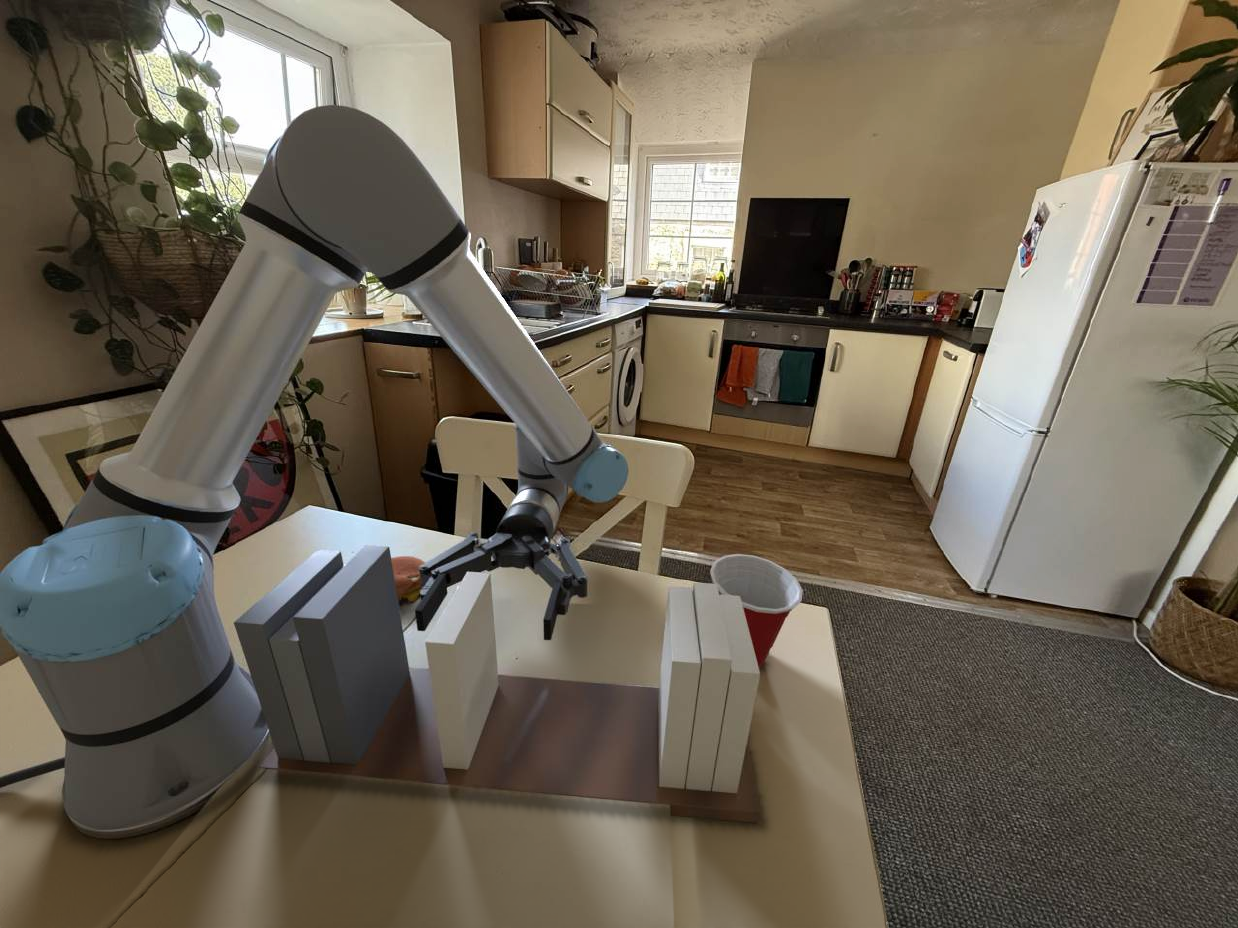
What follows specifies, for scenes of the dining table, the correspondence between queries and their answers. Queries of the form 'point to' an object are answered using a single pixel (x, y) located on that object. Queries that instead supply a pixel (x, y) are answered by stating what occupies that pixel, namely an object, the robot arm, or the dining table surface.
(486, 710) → the white book
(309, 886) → the dining table surface
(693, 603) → the white books
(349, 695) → the grey books
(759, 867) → the dining table surface
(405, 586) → the burger
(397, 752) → the shelf board
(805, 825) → the dining table surface
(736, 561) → the plastic cup
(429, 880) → the dining table surface
